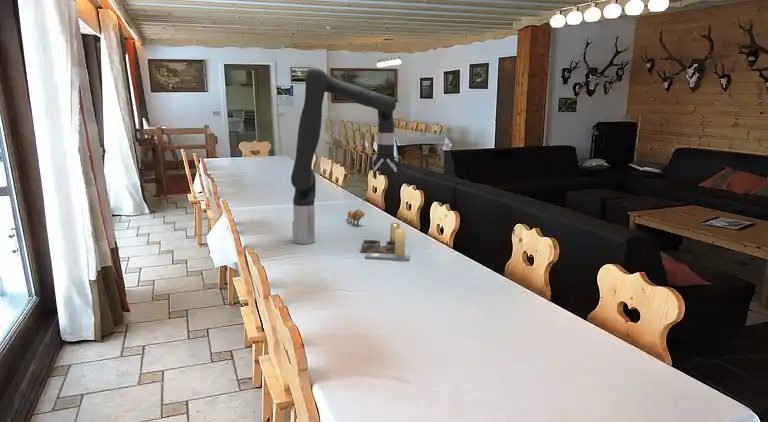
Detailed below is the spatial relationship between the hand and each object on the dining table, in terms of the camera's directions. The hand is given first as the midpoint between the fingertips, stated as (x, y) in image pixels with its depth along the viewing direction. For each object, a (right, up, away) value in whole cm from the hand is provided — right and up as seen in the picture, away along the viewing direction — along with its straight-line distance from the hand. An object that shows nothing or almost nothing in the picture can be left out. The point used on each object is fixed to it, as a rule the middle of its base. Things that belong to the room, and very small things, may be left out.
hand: (385, 179), depth 225 cm
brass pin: (+4, -30, -10) cm, 32 cm away
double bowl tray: (-1, -31, -9) cm, 32 cm away
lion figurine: (-16, -21, +33) cm, 42 cm away
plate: (+1, -33, -19) cm, 38 cm away
